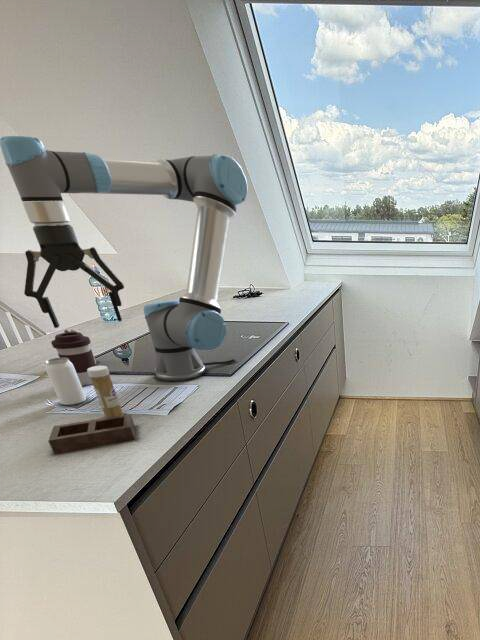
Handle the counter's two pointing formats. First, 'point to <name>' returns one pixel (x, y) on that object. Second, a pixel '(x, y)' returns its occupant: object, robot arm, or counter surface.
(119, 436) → the holder
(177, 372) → the robot arm
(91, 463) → the counter surface
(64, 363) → the can
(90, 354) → the coffee cup
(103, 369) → the sprinkles bottle
